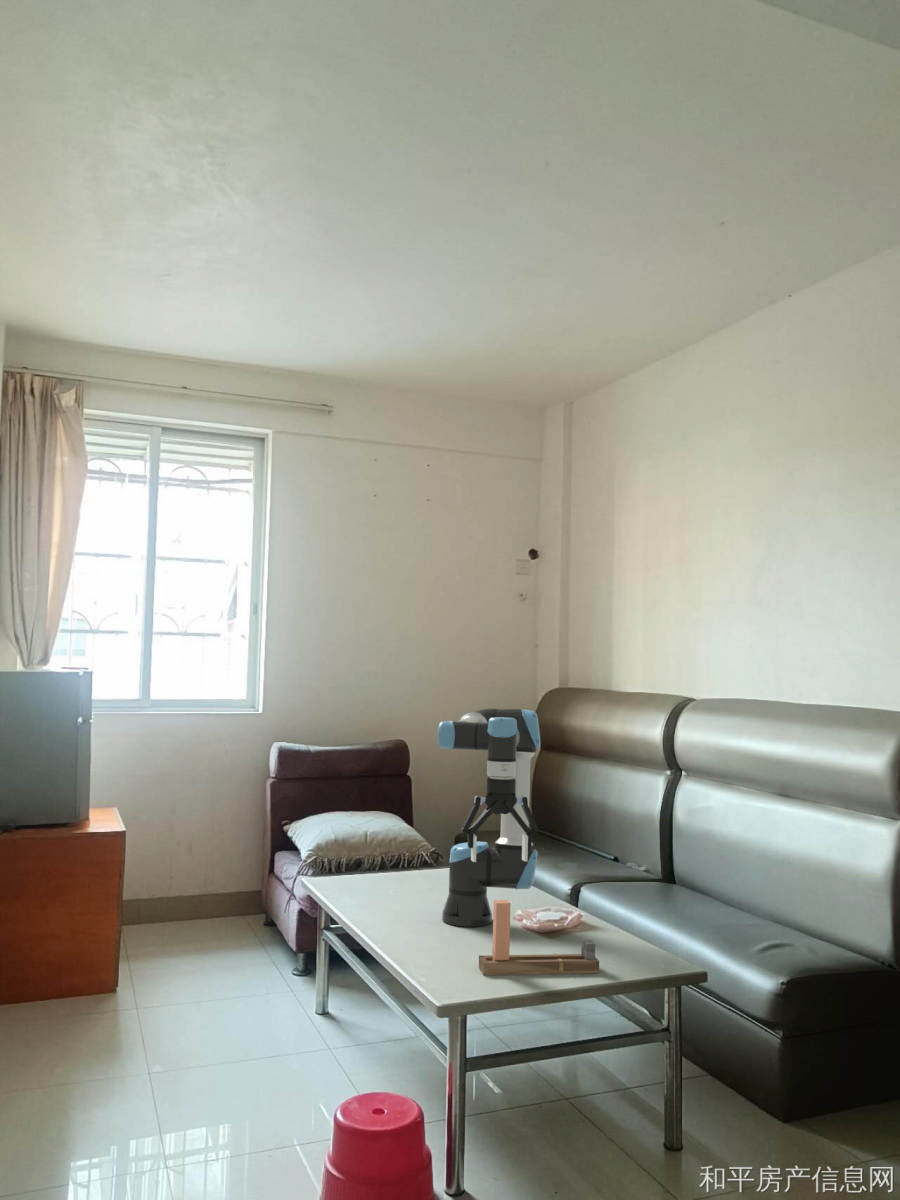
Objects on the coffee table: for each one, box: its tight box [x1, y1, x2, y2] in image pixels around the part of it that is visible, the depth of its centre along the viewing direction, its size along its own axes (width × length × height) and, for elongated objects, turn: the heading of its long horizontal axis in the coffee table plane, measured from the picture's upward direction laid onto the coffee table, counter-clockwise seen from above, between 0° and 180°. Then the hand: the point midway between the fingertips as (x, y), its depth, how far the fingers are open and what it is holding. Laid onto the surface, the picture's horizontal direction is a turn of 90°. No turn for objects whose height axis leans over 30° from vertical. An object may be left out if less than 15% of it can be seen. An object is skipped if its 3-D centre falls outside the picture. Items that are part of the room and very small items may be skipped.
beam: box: [478, 938, 600, 976], centre depth 236 cm, size 6×30×7 cm, turn 99°
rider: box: [491, 899, 511, 961], centre depth 235 cm, size 4×4×16 cm
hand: (499, 860), depth 238 cm, fingers open, 13 cm apart
